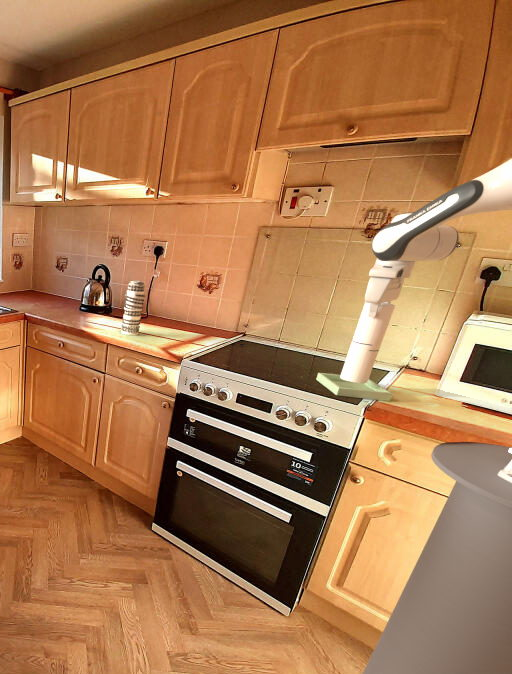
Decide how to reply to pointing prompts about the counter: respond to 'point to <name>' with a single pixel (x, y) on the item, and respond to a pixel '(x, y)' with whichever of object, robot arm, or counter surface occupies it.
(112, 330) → the counter surface
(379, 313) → the cylindrical container
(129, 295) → the leaning tower model
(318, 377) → the tray
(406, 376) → the counter surface
